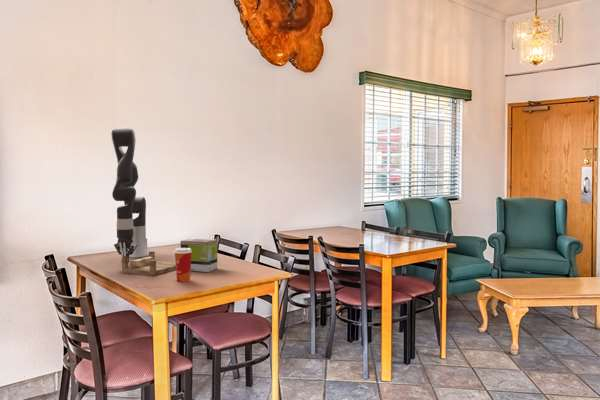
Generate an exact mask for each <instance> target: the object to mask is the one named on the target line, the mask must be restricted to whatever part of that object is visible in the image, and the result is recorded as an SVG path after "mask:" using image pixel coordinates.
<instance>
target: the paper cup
mask: <svg viewBox="0 0 600 400" xmlns="http://www.w3.org/2000/svg"><path fill="white" fill-rule="evenodd" d="M191 252H192V251H191V248H187V249H186V248H181V247H179V248H175V249H174V252H173V253H174V263H176V270H175V274H176V275H175V276H176V282H178V283H187V282H190V281H191V272H192V271H191Z"/></svg>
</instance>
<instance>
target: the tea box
mask: <svg viewBox="0 0 600 400" xmlns="http://www.w3.org/2000/svg"><path fill="white" fill-rule="evenodd" d="M180 248H186V249H187V248H191V251H192V252H191V272H203V273H210V272H212V271H215V270H217V269H218V239H215V238H194V237H193V238H192V237H191V238H187V239H182V240H180Z"/></svg>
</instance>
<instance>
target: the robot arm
mask: <svg viewBox="0 0 600 400" xmlns="http://www.w3.org/2000/svg"><path fill="white" fill-rule="evenodd" d="M110 132H111V141H112V145H113V149H114V152H115V157H116V161H117V166H116V180H115V184H114V187H113V189H112V198H113V200H114V201H115V202H123V203H124V204H123V205H120V206H118V207H117V208H116V238H117V242H116V243H114V244H113V246H114V248H115V249H116V252H117V253H118V255H120V256H121V258H122V257H128V264H130V258H132V259H133V258H136V259H139V258H146V257H147V256H148V238H147V237H146V236H147V233H146V232H147V231H146V230H147V227H146V226H147V225H146V219H147V216H146V213H147V212H146V211H147V202H146V200H147V199H146V198H145V197H144V196H137V189H136V188H135V186H136V184H137V182H138V180H139V173H138V172H139V171H138V167H137V164H136V163H135V162H134V155H135V150H136V132H135V130H134V128H130V127H121V128H113V129H112V130H111V131H110ZM123 147H124V148H125V147H127V149H126V151H124V149H123ZM133 214H138V216H137V217H135V218H134V217H133V216H134V215H133Z"/></svg>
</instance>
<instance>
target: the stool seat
mask: <svg viewBox="0 0 600 400" xmlns="http://www.w3.org/2000/svg"><path fill="white" fill-rule="evenodd" d="M151 255H155V256H156V254H155V251H154V250H151V251H149V250H148V257H150V256H151ZM172 271H173V272H174V271H176V262H166V261H157V260H156V259H155V260H150V264H148V265H144V266H140V267H136V268H131V267H130V265H129V263H128V257H122V256H121V273H125V274H126V273H127V274H133V275H142V276H149V277H150V276H151V277H155V276H159V275H162V274H166V273H169V272H172Z"/></svg>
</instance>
